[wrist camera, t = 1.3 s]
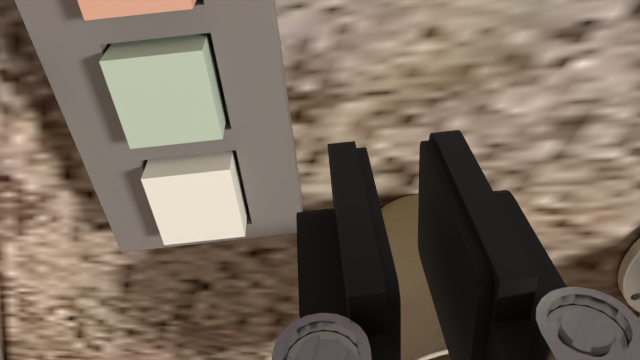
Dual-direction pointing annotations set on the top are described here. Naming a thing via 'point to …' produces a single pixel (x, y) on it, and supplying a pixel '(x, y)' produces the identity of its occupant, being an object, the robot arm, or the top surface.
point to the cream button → (196, 197)
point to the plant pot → (413, 284)
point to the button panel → (239, 136)
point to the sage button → (165, 90)
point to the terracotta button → (129, 7)
